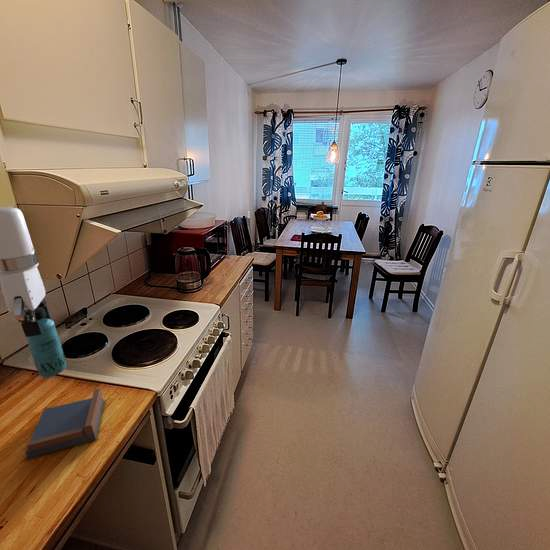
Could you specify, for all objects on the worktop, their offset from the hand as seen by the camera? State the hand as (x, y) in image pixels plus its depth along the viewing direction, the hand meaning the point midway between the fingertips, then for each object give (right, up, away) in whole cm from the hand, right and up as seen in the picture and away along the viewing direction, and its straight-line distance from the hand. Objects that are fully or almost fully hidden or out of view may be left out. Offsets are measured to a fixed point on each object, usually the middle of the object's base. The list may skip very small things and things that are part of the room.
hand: (39, 327), depth 73 cm
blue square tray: (+2, -30, +8) cm, 31 cm away
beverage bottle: (0, -14, +6) cm, 15 cm away
